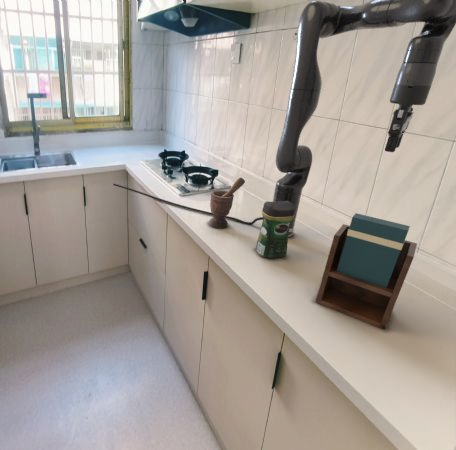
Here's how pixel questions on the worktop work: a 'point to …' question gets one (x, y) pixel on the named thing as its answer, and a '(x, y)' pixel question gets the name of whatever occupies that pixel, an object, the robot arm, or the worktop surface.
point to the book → (372, 249)
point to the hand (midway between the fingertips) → (391, 149)
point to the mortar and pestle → (222, 204)
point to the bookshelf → (362, 286)
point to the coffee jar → (275, 229)
